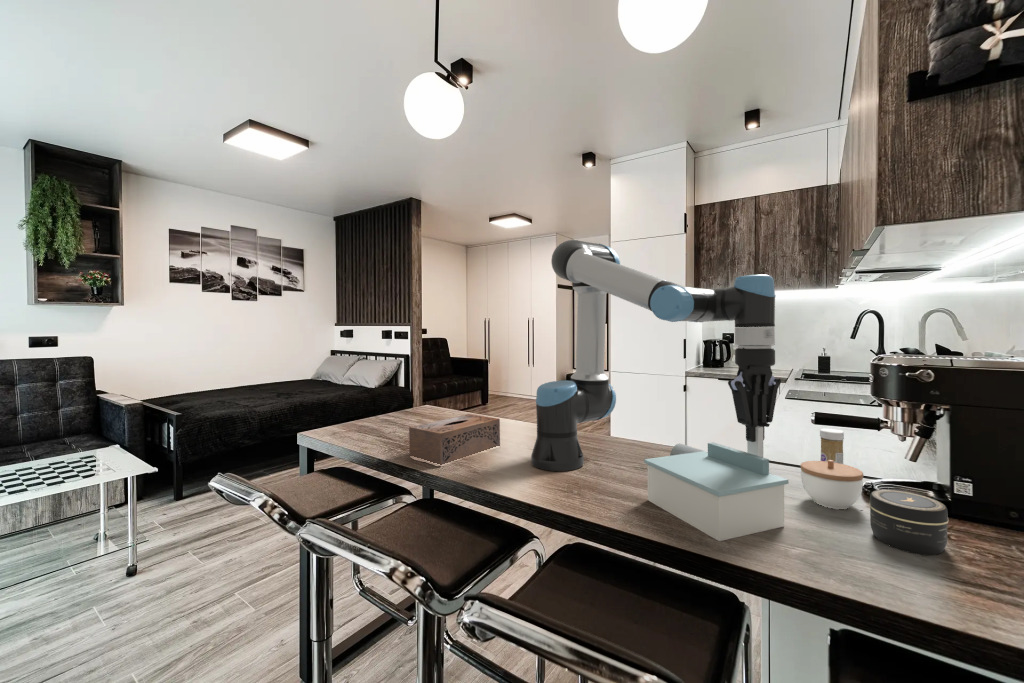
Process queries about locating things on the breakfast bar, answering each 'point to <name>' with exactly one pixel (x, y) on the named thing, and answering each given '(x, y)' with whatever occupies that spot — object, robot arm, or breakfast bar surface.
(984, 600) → the breakfast bar surface
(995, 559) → the breakfast bar surface
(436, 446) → the tissue box cover
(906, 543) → the jar
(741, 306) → the robot arm
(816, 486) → the lidded jar
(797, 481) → the breakfast bar surface
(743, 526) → the box
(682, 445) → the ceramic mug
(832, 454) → the sprinkles bottle
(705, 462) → the lid
